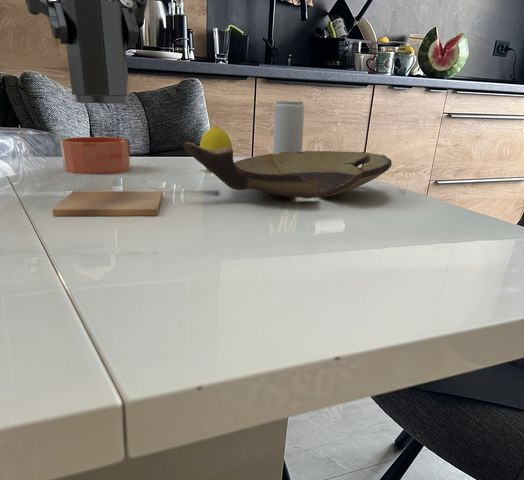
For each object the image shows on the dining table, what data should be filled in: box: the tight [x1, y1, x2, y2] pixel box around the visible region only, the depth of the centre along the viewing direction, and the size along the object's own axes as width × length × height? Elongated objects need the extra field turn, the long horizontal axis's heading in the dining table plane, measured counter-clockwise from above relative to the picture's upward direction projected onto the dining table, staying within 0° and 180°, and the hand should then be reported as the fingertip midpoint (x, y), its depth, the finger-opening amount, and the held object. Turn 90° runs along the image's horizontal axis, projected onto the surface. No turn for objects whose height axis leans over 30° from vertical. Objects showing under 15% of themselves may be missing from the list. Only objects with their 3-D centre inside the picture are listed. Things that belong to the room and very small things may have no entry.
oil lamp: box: [182, 141, 393, 200], centre depth 78 cm, size 22×30×8 cm
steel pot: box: [61, 0, 130, 104], centre depth 62 cm, size 6×6×10 cm
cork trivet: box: [52, 190, 164, 217], centre depth 70 cm, size 12×12×1 cm
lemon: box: [199, 125, 233, 169], centre depth 93 cm, size 6×6×8 cm
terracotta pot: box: [59, 136, 132, 175], centre depth 92 cm, size 11×11×6 cm
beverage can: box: [272, 100, 305, 154], centre depth 91 cm, size 5×5×12 cm
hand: (98, 39), depth 60 cm, fingers closed on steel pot, 6 cm apart
